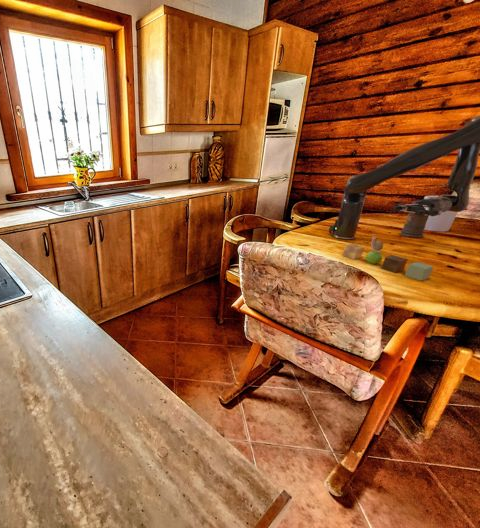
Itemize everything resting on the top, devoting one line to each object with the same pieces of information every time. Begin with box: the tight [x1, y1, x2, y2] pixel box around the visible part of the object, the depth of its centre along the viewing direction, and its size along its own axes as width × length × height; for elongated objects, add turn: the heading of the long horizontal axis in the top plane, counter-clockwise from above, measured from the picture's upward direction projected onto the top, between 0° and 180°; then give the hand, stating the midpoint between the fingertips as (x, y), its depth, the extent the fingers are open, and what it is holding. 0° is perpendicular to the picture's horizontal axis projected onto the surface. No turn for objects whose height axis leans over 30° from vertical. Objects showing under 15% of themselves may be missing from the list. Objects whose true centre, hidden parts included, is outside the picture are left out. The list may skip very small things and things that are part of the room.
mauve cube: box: [342, 243, 365, 260], centre depth 127 cm, size 5×5×5 cm
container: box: [399, 200, 429, 239], centre depth 147 cm, size 9×9×18 cm
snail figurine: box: [365, 233, 384, 265], centre depth 119 cm, size 5×6×12 cm
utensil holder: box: [423, 195, 458, 233], centre depth 155 cm, size 15×15×18 cm
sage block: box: [404, 261, 434, 282], centre depth 106 cm, size 5×5×5 cm
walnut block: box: [381, 254, 409, 274], centre depth 113 cm, size 5×5×5 cm
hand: (406, 211), depth 117 cm, fingers open, 8 cm apart
